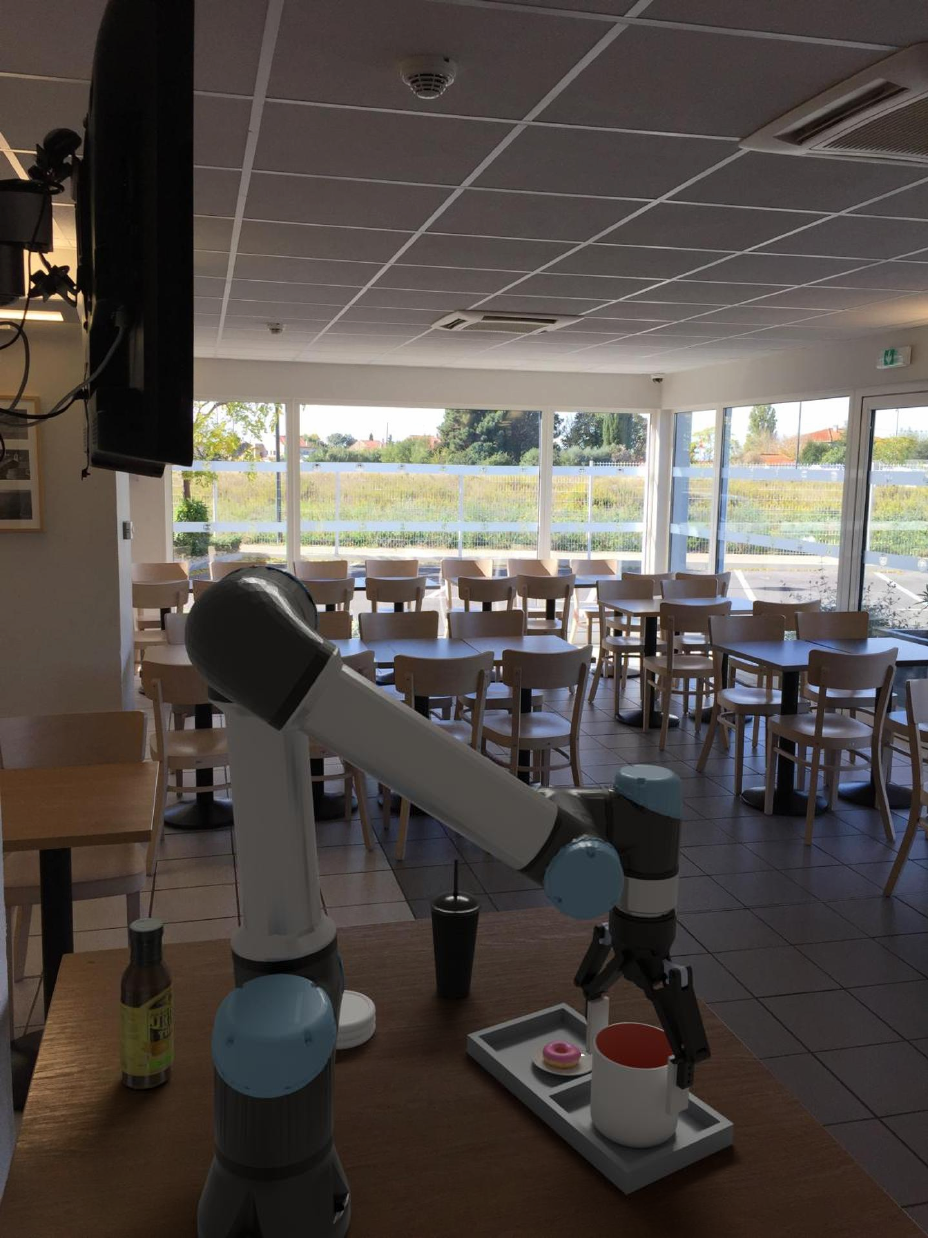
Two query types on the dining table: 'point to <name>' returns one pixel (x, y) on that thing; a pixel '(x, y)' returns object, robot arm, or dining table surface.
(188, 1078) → the dining table surface
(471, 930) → the drinking cup
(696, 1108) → the carrier tray
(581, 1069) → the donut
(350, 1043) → the white plate stack
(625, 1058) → the cup
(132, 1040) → the sauce bottle
